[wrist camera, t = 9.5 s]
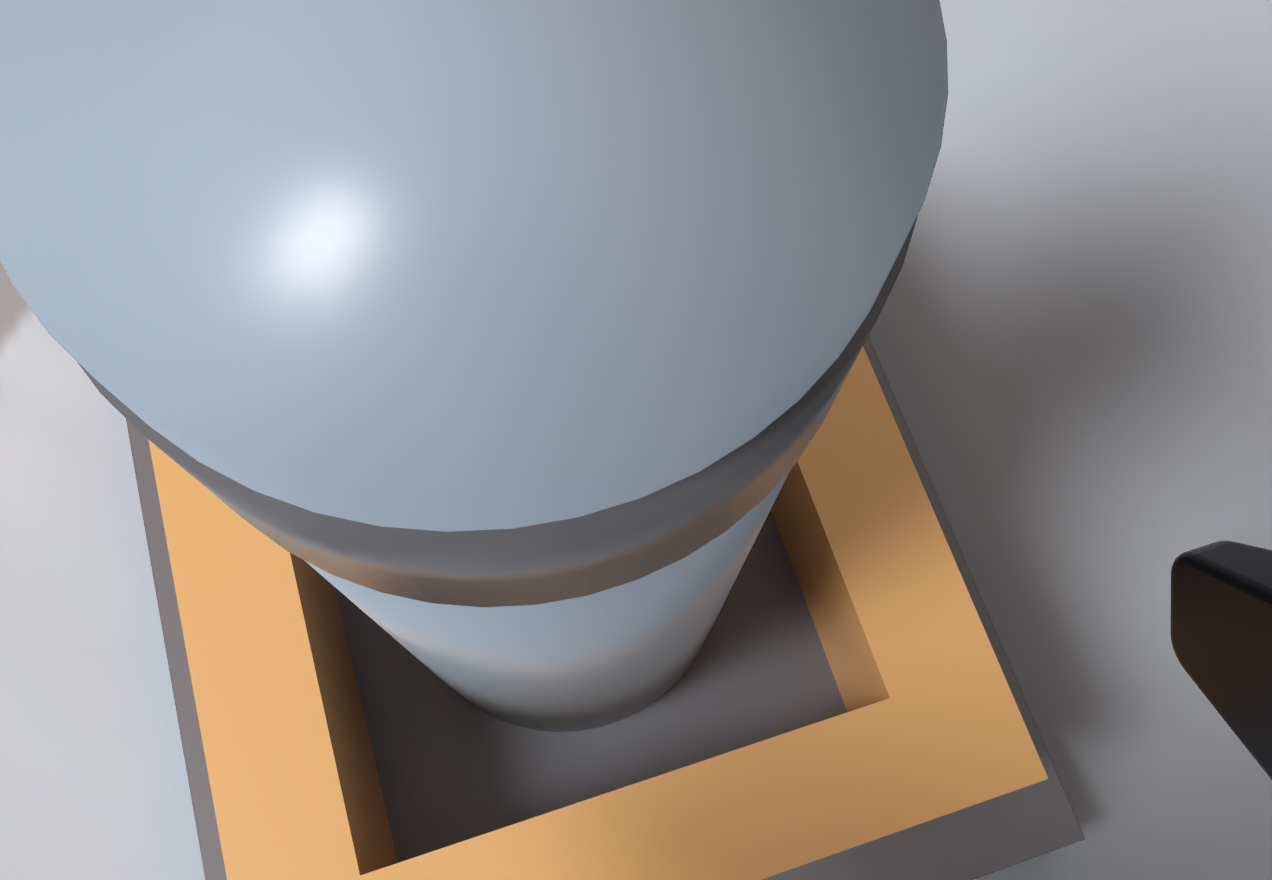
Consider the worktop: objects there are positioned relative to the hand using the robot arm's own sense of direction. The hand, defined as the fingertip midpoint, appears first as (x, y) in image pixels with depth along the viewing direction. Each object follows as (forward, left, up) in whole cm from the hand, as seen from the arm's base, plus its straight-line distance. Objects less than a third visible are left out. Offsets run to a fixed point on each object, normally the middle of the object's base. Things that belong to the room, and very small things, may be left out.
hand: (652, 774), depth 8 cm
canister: (+2, +3, -8) cm, 9 cm away
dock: (+2, +3, -9) cm, 9 cm away
